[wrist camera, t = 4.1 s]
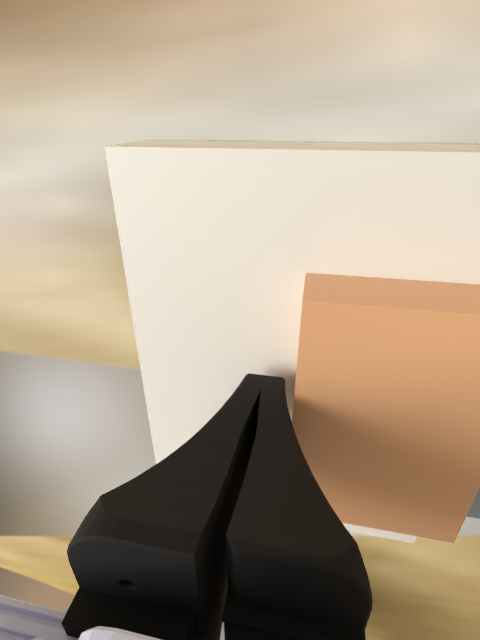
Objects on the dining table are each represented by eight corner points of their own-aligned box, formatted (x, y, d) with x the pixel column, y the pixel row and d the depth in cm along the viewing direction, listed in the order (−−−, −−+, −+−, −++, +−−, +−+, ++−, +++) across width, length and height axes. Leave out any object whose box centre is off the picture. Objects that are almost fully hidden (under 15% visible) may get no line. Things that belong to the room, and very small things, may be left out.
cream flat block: (401, 485, 19) (414, 543, 17) (181, 450, 21) (161, 496, 19) (512, 144, 11) (567, 153, 9) (146, 140, 13) (104, 146, 11)
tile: (438, 493, 15) (453, 542, 13) (288, 469, 16) (283, 512, 14) (520, 287, 10) (558, 320, 9) (305, 272, 12) (302, 300, 10)
